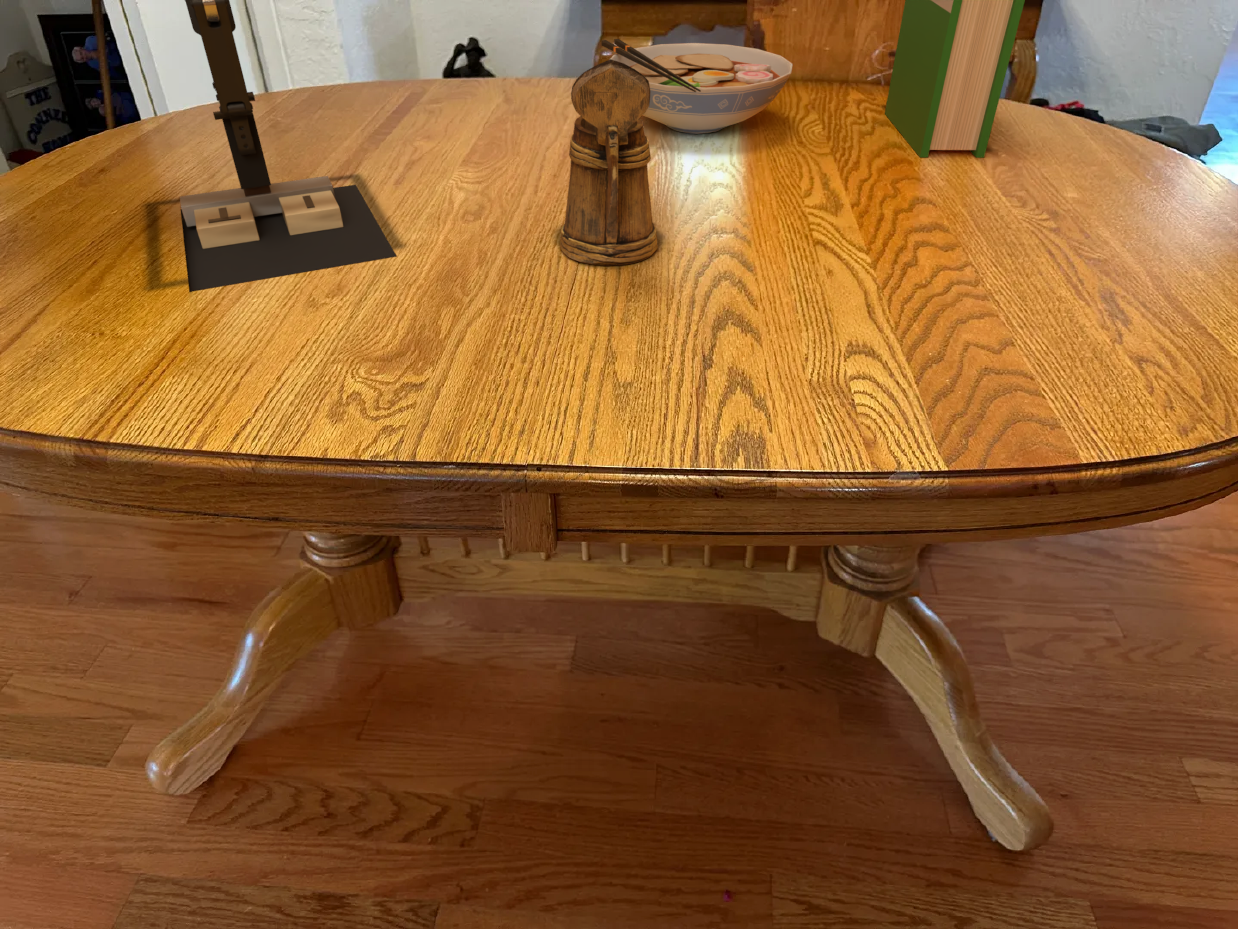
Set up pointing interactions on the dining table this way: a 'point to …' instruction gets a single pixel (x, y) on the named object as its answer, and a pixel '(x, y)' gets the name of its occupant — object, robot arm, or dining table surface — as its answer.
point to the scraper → (253, 197)
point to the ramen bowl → (705, 82)
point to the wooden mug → (609, 169)
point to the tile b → (311, 212)
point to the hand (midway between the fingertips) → (254, 180)
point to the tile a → (226, 225)
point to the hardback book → (951, 72)
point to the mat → (288, 247)
